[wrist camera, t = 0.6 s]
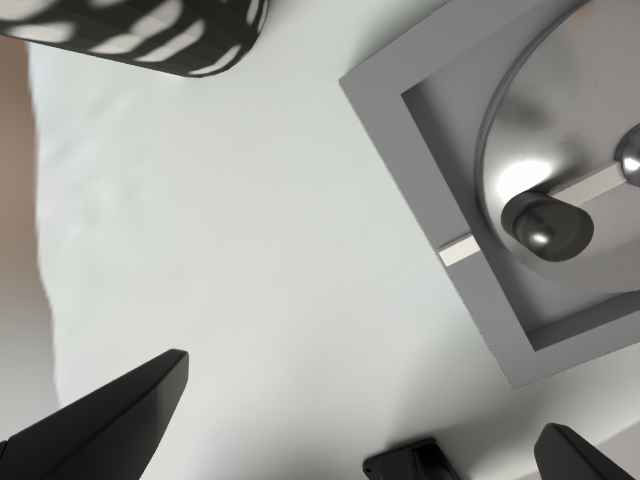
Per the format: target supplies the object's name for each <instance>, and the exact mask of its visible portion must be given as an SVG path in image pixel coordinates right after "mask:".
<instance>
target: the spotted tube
mask: <svg viewBox="0 0 640 480" xmlns="http://www.w3.org/2000/svg"><path fill="white" fill-rule="evenodd" d="M267 5H268V0H0V35H4V36H7V37H12V38H17V39H21V40H25V41H29V42H34V43H38V44H43V45H47V46H51V47H56V48H60V49H65V50H69V51H73V52H78V53H82V54H87V55H91V56H95V57H100V58H104V59H108V60H113V61H117V62H122V63H126V64H130V65H135V66H139V67H144V68H148V69H152V70H157V71H161V72H166V73H170V74H174V75H179V76H183V77H194V78H202V77H208V76H214V75H216V74H219V73H221V72H224V71H226V70H228V69H230V68H231V67H232V66H234V65H235V64H236V63H238V62H239V61H241V59H242V58H243V57H244V56H245V55H246V54H247V53H248V52H249V50H250V49H251V48H252V46H253V44H254V43H255V41H256V39H257V38H258V36H259V34H260V31H261V28H262V26H263V23H264V20H265V17H266V11H267Z"/></svg>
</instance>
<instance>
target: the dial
mask: <svg viewBox="0 0 640 480" xmlns="http://www.w3.org/2000/svg"><path fill="white" fill-rule="evenodd" d="M473 175H474V186H475V193H476V197H477V201H478V205H479V208H480V211H481V213H482V216H483V218H484V221H485V223H486V224H487V226H488V227H489V229H490V231H491V232H492V234H493V235H494V237H495V238H496V239H497V240H498V241H499V243H500V244H501V245H502V246H503V247H504V248H505V249H506V250H508V251H509V252H510V253H511V254H512V255H513V256H514V257H516V258H517V259H518V260H519V261H520V262H521V263H523V264H524V265H525V266H526V267H527V268H529V269H530V270H532V271H533V272H535V273H537V274H538V275H540V276H541V277H543V278H545V279H548V280H550V281H552V282H554V283H557V284H560V285H563V286H566V287H570V288H573V289H578V290H584V291H590V292H607V293H613V292H630V291H637V290H640V0H586V1H584V2H583V3H581V4H579V5H577V6H575V7H574V8H573V9H571V10H570V11H568V12H567V13H566V14H564V15H563V16H561V17H560V18H559V19H557V20H556V21H554V22H553V23H552V24H551V25H550V26H549V27H548V28H546V29H545V30H544V31H543V32H542V33H541V34H540V35H539V36H537V37H536V38H535V39H534V40H533V41H532V43H531V44H530V45H529V46H528V47H527V48H526V49H525V50H524V51H523V52H522V53H521V55H520V56H519V57H518V58H517V59H516V61H515V62H514V63H513V65H512V66H511V68H510V69H509V70H508V72H507V73H506V74H505V76H504V77H503V79H502V81H501V82H500V84H499V86H498V88H497V89H496V91H495V93H494V94H493V96H492V98H491V101H490V103H489V105H488V107H487V110H486V112H485V114H484V117H483V120H482V123H481V126H480V130H479V133H478V136H477V142H476V147H475V153H474V169H473Z"/></svg>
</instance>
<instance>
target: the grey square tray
mask: <svg viewBox="0 0 640 480" xmlns="http://www.w3.org/2000/svg"><path fill="white" fill-rule="evenodd" d="M584 1H586V0H451V1H449V2H448V3H446V4H445V5H444V6H442V7H441V8H439V9H438V10H437V11H435V12H434V13H432V14H431V15H429V16H428V17H427V18H425V19H424V20H422V21H421V22H420V23H418V24H417V25H415V26H414V27H413V28H411V29H410V30H408V31H407V32H405V33H404V34H403V35H401V36H400V37H398V38H397V39H396V40H394V41H393V42H391V43H390V44H388V45H387V46H386V47H384V48H383V49H381V50H380V51H379V52H377V53H376V54H374V55H373V56H372V57H370V58H369V59H367V60H366V61H364V62H363V63H362V64H360V65H359V66H357V67H356V68H355V69H353V70H352V71H350V72H349V73H348V74H346V75H345V76H343V77H342V78H340V79H339V80H338V81H339V85H340V87H341V88H342V90H343V92H344V94H345V96H346V97H347V99H348V101H349V103H350V104H351V106H352V108H353V110H354V111H355V113H356V115H357V117H358V118H359V120H360V122H361V124H362V125H363V127H364V129H365V131H366V132H367V134H368V136H369V138H370V139H371V141H372V143H373V145H374V147H375V148H376V150H377V152H378V154H379V155H380V157H381V159H382V161H383V162H384V164H385V166H386V168H387V169H388V171H389V173H390V175H391V176H392V178H393V180H394V182H395V183H396V185H397V187H398V189H399V190H400V192H401V194H402V196H403V197H404V199H405V201H406V203H407V205H408V206H409V208H410V210H411V212H412V213H413V215H414V217H415V219H416V220H417V222H418V224H419V226H420V227H421V229H422V231H423V233H424V234H425V236H426V238H427V240H428V241H429V243H430V245H431V247H432V248H433V250H434V252H435V254H436V256H437V257H438V259H439V261H440V263H441V264H442V266H443V268H444V270H445V271H446V273H447V275H448V277H449V278H450V280H451V282H452V284H453V285H454V287H455V289H456V291H457V292H458V294H459V296H460V298H461V299H462V301H463V303H464V305H465V307H466V308H467V310H468V312H469V314H470V315H471V317H472V319H473V321H474V322H475V324H476V326H477V328H478V329H479V331H480V333H481V335H482V336H483V338H484V340H485V342H486V343H487V345H488V347H489V349H490V350H491V352H492V354H493V356H494V357H495V359H496V361H497V362H498V364H499V366H500V367H501V369H502V371H503V372H504V374H505V376H506V377H507V379H508V381H509V382H510V384H511V386H512V387H513V389H516V388H518V387H521V386H524V385H526V384H529V383H532V382H534V381H537V380H539V379H542V378H545V377H547V376H550V375H553V374H555V373H558V372H561V371H563V370H566V369H569V368H571V367H574V366H577V365H579V364H582V363H585V362H587V361H590V360H593V359H595V358H598V357H601V356H603V355H606V354H609V353H611V352H614V351H616V350H619V349H622V348H624V347H627V346H630V345H632V344H635V343H638V342H640V290H637V291H630V292H613V293H607V292H590V291H584V290H578V289H573V288H570V287H566V286H563V285H560V284H557V283H554V282H552V281H550V280H548V279H545V278H543V277H541V276H540V275H538V274H537V273H535V272H533V271H532V270H530V269H529V268H527V267H526V266H525V265H524V264H523V263H521V262H520V261H519V260H518V259H517V258H516V257H514V256H513V255H512V254H511V253H510V252H509V251H508V250H506V249H505V248H504V247H503V246H502V245H501V244H500V243H499V241H498V240H497V239H496V238H495V237H494V235H493V234H492V232H491V231H490V229H489V227H488V226H487V224H486V223H485V221H484V218H483V216H482V213H481V211H480V208H479V205H478V201H477V197H476V193H475V186H474V175H473V169H474V153H475V147H476V142H477V136H478V133H479V130H480V126H481V123H482V120H483V117H484V114H485V112H486V110H487V107H488V105H489V103H490V101H491V98H492V96H493V94H494V93H495V91H496V89H497V88H498V86H499V84H500V82H501V81H502V79H503V77H504V76H505V74H506V73H507V72H508V70H509V69H510V68H511V66H512V65H513V63H514V62H515V61H516V59H517V58H518V57H519V56H520V55H521V53H522V52H523V51H524V50H525V49H526V48H527V47H528V46H529V45H530V44H531V43H532V41H533V40H534V39H535V38H536V37H537V36H539V35H540V34H541V33H542V32H543V31H544V30H545V29H546V28H548V27H549V26H550V25H551V24H552V23H553V22H554V21H556V20H557V19H559V18H560V17H561V16H563V15H564V14H566V13H567V12H568V11H570V10H571V9H573V8H574V7H575V6H577V5H579V4H581V3H583V2H584Z"/></svg>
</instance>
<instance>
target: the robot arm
mask: <svg viewBox="0 0 640 480" xmlns="http://www.w3.org/2000/svg"><path fill="white" fill-rule="evenodd" d="M188 369H189V354H188V352H187V351H184V350H179V349H170V350H168V351H166V352H164V353H162V354H161V355H159V356H157V357H155V358H153V359H151V360H150V361H148V362H146V363H144V364H142V365H141V366H139V367H137V368H135V369H133V370H131V371H130V372H128V373H126V374H124V375H122V376H120V377H119V378H117V379H115V380H113V381H111V382H110V383H108V384H106V385H104V386H102V387H100V388H99V389H97V390H95V391H93V392H91V393H90V394H88V395H86V396H84V397H82V398H80V399H79V400H77V401H75V402H73V403H71V404H69V405H68V406H66V407H64V408H62V409H60V410H59V411H57V412H55V413H53V414H51V415H50V416H48V417H46V418H44V419H42V420H40V421H39V422H37V423H35V424H33V425H31V426H29V427H28V428H26V429H24V430H22V431H20V432H18V433H17V434H15V435H13V436H11V437H10V438H9V439H8V441H6V440H4V441H2V442H0V480H139V479H140V477H141V475H142V474H143V472H144V470H145V469H146V467H147V465H148V464H149V462H150V460H151V458H152V457H153V455H154V453H155V451H156V449H157V447H158V445H159V443H160V441H161V439H162V437H163V435H164V433H165V431H166V428H167V426H168V424H169V422H170V420H171V417H172V415H173V413H174V411H175V409H176V407H177V404H178V402H179V400H180V398H181V396H182V394H183V391H184V389H185V387H186V384H187V381H188ZM534 456H535V459H536V463H537V466H538V469H539V472H540V475H541V478H542V480H635V479H634V478H633V477H632V476H631V475H629V474H628V473H627V472H625V471H624V470H623V469H622V468H620V467H619V466H618V465H617V464H615V463H614V462H613V461H612V460H610V459H609V458H608V457H606V456H605V455H604V454H602V453H601V452H600V451H599V450H598V449H596V448H595V447H594V446H592V445H591V444H590V443H589V442H587V441H586V440H585V439H584V438H582V437H581V436H580V435H578V434H577V433H576V432H575V431H573V430H572V429H571V428H569V427H568V426H565V425H561V424H556V423H548V424H547V425H546V426H545V427H544V429H543V431H542V433H541V435H540V436H539V438H538V440H537V442H536V444H535V446H534ZM362 468H363V472H364V473H365V475H366V476H367V477H368V478H369V479H370V480H464V479H463V478H462V476H461V475H460V473H459V472H458V470H457V469H456V467H455V466H454V465H453V463H452V462H451V460H450V459H449V457H448V456H447V454H446V453H445V452H444V450H443V449H442V447H441V446H440V444H439V443H438V442H437V440H436V439H434V438H429V439H426V440H423V441H420V442H417V443H414V444H412V445H409V446H406V447H403V448H401V449H398V450H395V451H392V452H390V453H387V454H384V455H381V456H379V457H376V458H373V459H370V460H368V461H365V462H363V464H362Z"/></svg>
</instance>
